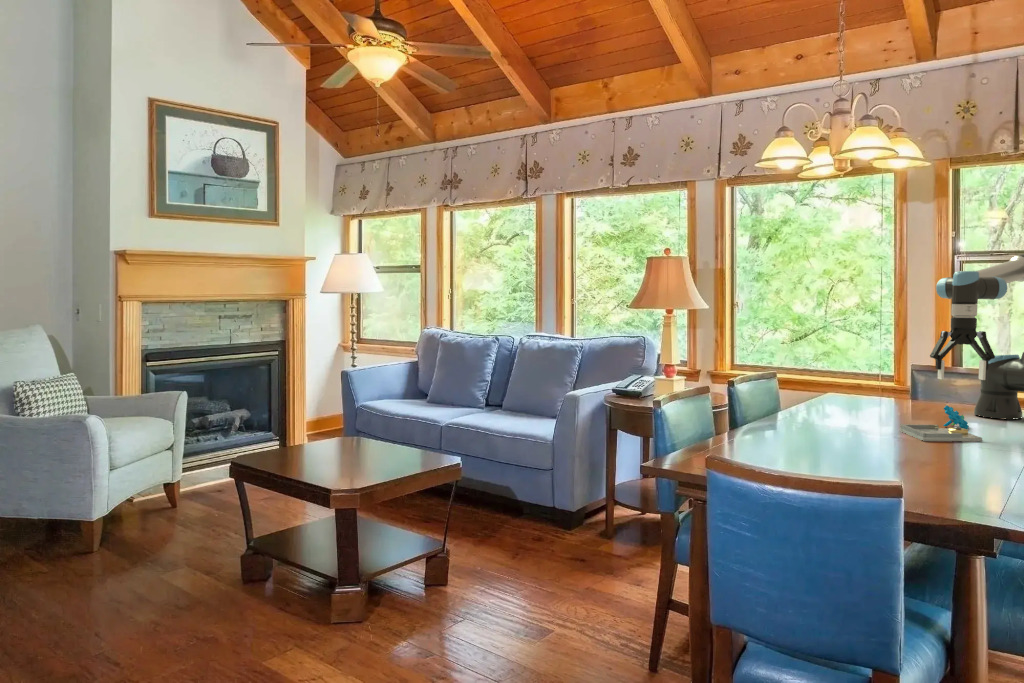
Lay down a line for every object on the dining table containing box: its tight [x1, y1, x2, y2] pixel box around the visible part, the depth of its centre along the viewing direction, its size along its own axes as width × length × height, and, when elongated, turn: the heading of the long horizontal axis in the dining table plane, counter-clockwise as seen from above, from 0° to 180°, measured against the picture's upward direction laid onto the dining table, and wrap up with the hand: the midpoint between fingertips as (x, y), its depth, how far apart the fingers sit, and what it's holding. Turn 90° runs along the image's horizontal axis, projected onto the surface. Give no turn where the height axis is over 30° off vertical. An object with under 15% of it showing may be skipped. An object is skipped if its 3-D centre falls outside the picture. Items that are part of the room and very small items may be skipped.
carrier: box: [899, 423, 983, 443], centre depth 246 cm, size 18×16×3 cm
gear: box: [943, 404, 970, 430], centre depth 261 cm, size 11×6×10 cm
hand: (961, 379), depth 258 cm, fingers open, 13 cm apart
